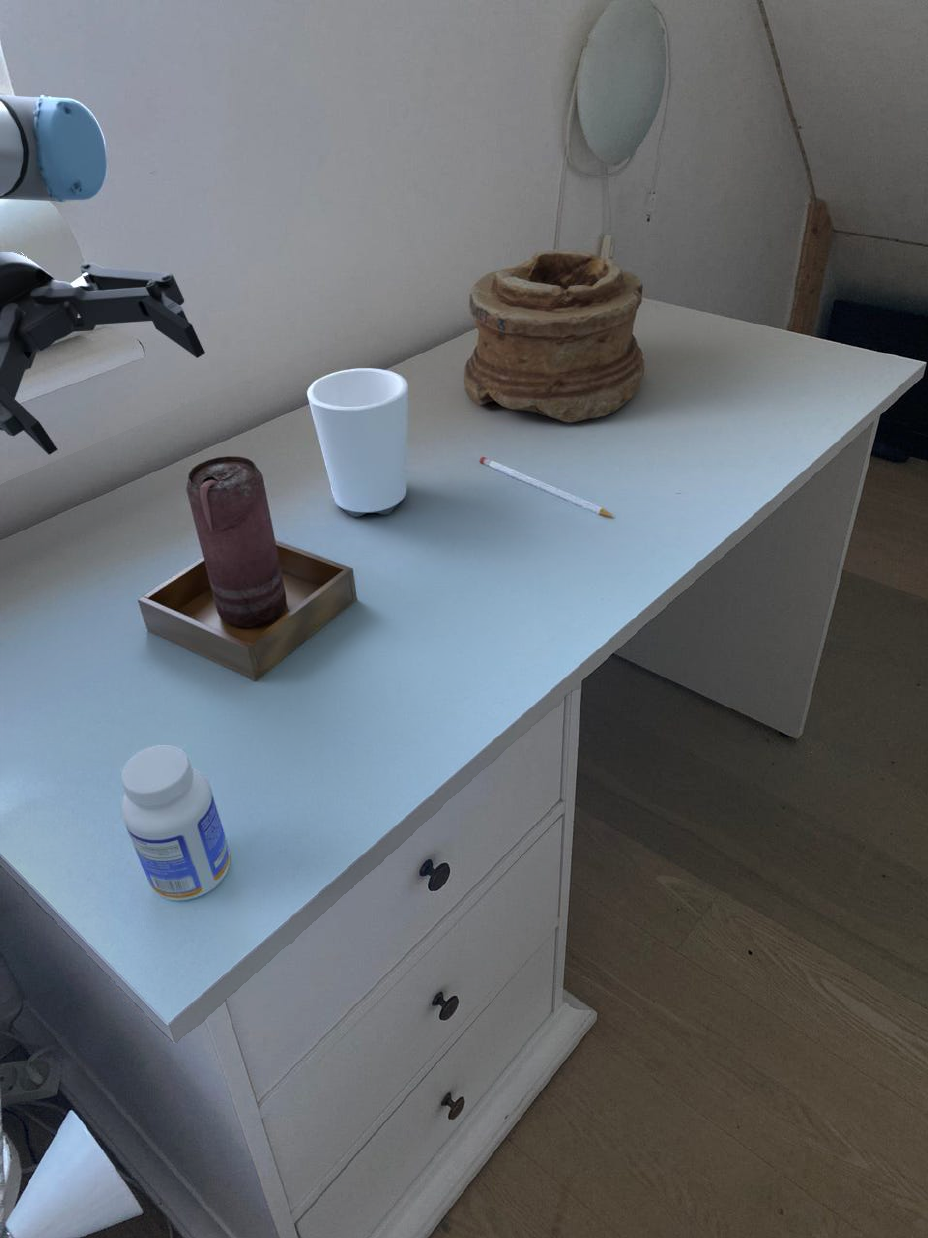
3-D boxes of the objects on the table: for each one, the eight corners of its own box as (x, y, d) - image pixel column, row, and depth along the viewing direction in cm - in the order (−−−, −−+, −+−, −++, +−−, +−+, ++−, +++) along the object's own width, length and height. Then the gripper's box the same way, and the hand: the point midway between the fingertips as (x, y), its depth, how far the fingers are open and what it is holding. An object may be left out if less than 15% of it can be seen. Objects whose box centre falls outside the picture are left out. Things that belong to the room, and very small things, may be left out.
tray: (255, 681, 77) (248, 649, 75) (146, 630, 83) (137, 599, 81) (357, 599, 86) (353, 568, 84) (252, 558, 92) (245, 528, 90)
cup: (325, 482, 103) (308, 371, 96) (415, 474, 104) (405, 363, 96) (322, 530, 95) (304, 413, 88) (419, 521, 96) (410, 404, 88)
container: (426, 397, 120) (418, 277, 110) (539, 339, 133) (539, 228, 124) (572, 446, 107) (576, 315, 98) (679, 376, 121) (691, 256, 112)
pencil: (484, 461, 106) (484, 455, 105) (617, 519, 95) (618, 513, 94) (479, 463, 105) (479, 458, 105) (612, 522, 94) (613, 516, 94)
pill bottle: (203, 824, 65) (171, 721, 59) (248, 868, 62) (218, 764, 56) (133, 870, 62) (91, 768, 57) (175, 919, 59) (136, 816, 53)
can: (207, 630, 82) (169, 489, 74) (233, 588, 87) (200, 451, 79) (273, 635, 81) (243, 492, 73) (296, 592, 86) (270, 454, 78)
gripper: (140, 260, 89) (267, 342, 78) (-100, 404, 81) (4, 518, 70) (103, 184, 83) (236, 262, 72) (-159, 331, 76) (-56, 444, 64)
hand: (122, 388), depth 71 cm, fingers open, 13 cm apart
